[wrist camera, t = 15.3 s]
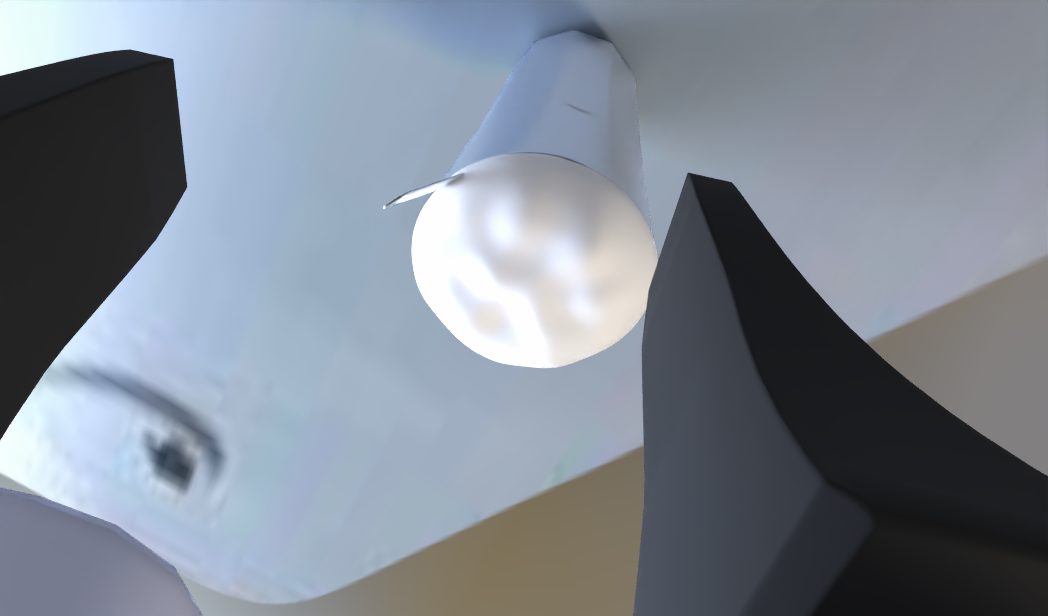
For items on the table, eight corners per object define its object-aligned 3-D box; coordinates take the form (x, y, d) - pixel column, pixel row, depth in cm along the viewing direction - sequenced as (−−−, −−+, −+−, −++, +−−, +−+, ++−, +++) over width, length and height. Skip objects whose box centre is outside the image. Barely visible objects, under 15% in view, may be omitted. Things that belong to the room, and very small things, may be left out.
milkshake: (576, -67, 19) (510, 123, 11) (694, 113, 21) (707, 373, 14) (431, 43, 21) (293, 265, 13) (553, 196, 24) (495, 461, 16)
